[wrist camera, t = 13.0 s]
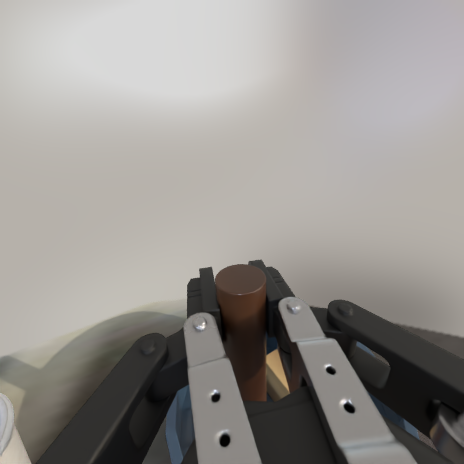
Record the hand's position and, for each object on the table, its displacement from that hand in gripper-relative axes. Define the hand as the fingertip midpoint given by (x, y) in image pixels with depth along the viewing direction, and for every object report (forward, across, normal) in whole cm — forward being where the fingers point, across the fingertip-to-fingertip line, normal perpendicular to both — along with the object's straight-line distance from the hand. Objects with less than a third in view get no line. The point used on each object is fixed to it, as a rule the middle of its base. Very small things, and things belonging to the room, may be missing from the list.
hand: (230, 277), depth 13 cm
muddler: (-3, 0, +13) cm, 13 cm away
